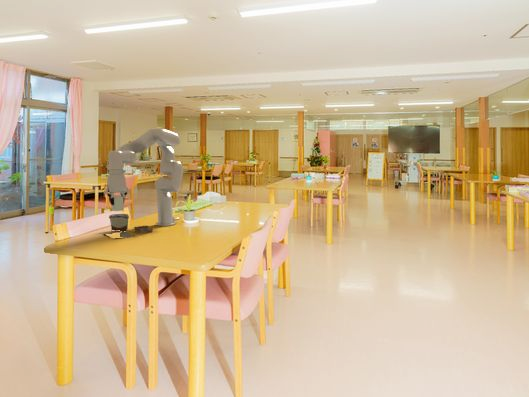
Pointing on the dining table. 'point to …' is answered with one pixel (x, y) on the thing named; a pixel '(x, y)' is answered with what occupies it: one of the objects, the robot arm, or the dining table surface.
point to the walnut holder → (143, 229)
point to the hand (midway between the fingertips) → (117, 204)
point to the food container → (119, 222)
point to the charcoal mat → (125, 234)
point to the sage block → (118, 203)
